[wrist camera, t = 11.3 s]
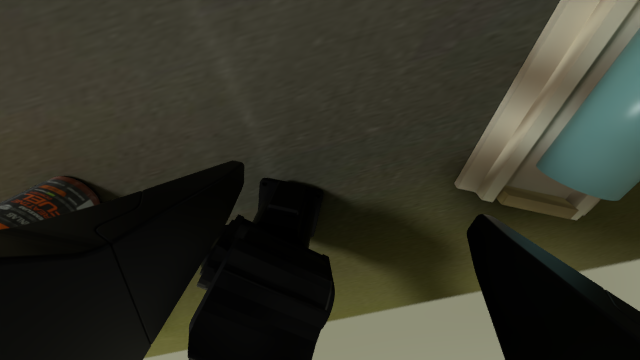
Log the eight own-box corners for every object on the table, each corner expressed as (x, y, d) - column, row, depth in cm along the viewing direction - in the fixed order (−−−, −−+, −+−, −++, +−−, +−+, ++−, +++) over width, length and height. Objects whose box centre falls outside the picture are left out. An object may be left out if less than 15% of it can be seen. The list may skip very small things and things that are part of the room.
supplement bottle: (106, 190, 28) (-20, 273, 19) (102, 222, 31) (-8, 308, 22) (50, 164, 27) (-114, 239, 17) (52, 200, 30) (-88, 280, 20)
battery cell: (578, 169, 20) (641, 206, 16) (522, 157, 20) (570, 192, 16) (713, 16, 15) (865, 11, 10) (636, -3, 14) (759, -15, 10)
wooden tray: (577, 210, 23) (601, 229, 21) (454, 183, 23) (465, 199, 21) (819, -37, 14) (909, -50, 11) (609, -85, 13) (660, -107, 11)
